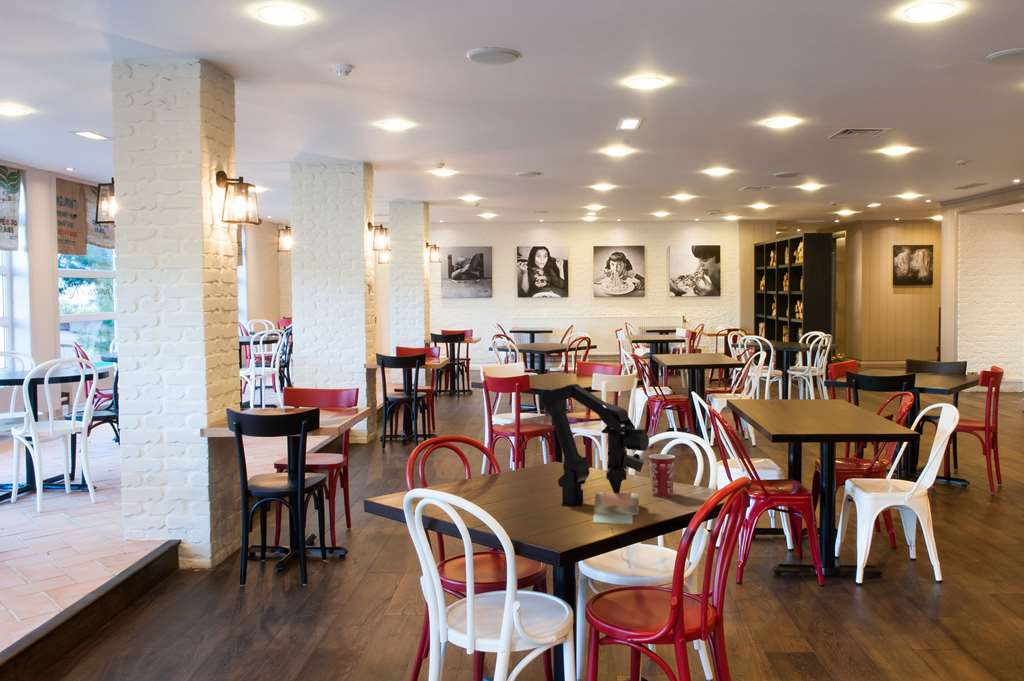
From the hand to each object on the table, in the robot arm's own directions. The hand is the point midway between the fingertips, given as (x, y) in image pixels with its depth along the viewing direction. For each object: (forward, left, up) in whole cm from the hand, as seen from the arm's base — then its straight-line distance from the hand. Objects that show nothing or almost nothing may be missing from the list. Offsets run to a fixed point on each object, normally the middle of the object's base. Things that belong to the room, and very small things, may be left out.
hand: (616, 496), depth 269 cm
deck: (0, +3, -5) cm, 6 cm away
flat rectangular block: (0, -4, -1) cm, 4 cm away
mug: (+15, +23, -5) cm, 28 cm away
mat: (-1, -9, -5) cm, 10 cm away
